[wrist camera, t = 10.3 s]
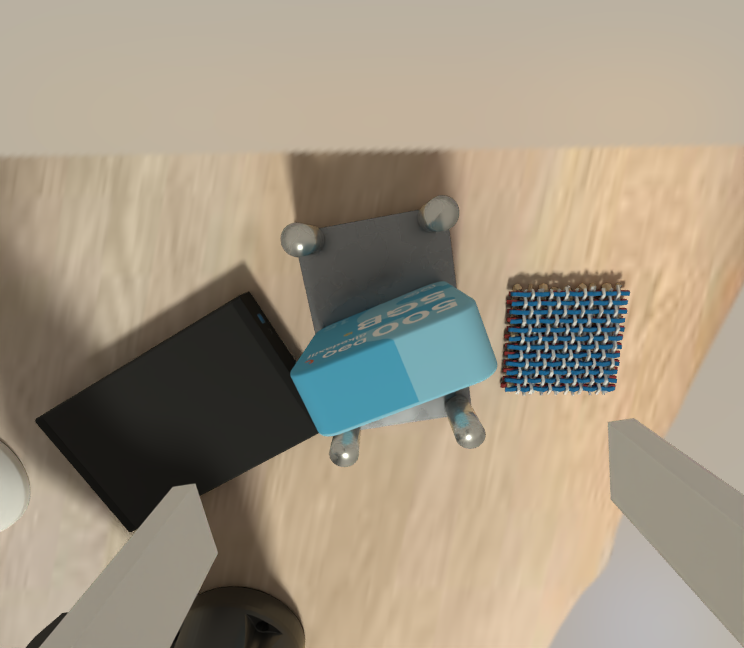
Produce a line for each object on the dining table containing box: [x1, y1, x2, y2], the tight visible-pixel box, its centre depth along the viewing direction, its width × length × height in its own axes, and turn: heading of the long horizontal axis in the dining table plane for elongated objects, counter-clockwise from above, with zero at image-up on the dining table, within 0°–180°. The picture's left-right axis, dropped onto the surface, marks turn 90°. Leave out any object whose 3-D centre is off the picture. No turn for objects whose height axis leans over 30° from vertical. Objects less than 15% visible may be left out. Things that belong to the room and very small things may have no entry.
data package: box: [290, 281, 497, 436], centre depth 27 cm, size 12×4×12 cm, turn 113°
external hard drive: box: [35, 292, 319, 532], centre depth 35 cm, size 14×23×3 cm, turn 120°
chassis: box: [281, 195, 486, 467], centre depth 30 cm, size 13×20×6 cm, turn 10°
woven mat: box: [501, 283, 630, 395], centre depth 33 cm, size 10×11×2 cm
